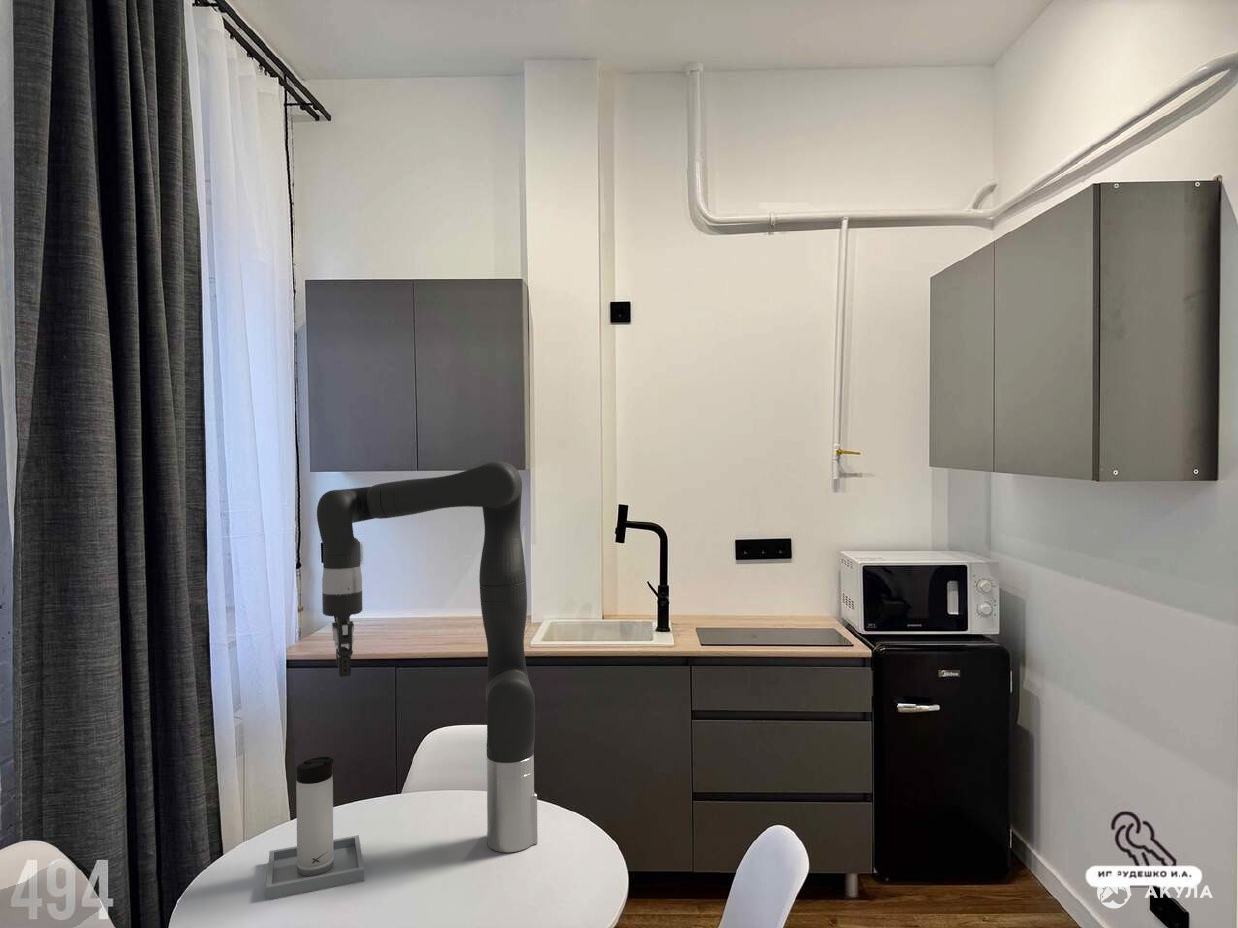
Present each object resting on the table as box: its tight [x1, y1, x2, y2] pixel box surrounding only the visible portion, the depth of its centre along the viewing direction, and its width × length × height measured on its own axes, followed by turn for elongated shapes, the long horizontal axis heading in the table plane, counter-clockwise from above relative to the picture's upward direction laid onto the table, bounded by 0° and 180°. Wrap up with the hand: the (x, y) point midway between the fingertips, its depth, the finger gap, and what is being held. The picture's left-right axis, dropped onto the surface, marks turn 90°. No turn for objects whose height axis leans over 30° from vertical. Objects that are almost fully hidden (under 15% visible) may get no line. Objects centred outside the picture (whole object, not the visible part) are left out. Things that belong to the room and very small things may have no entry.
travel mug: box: [295, 756, 334, 876], centre depth 144 cm, size 6×7×20 cm
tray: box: [265, 834, 365, 901], centre depth 144 cm, size 16×14×2 cm
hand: (343, 670), depth 156 cm, fingers open, 8 cm apart
